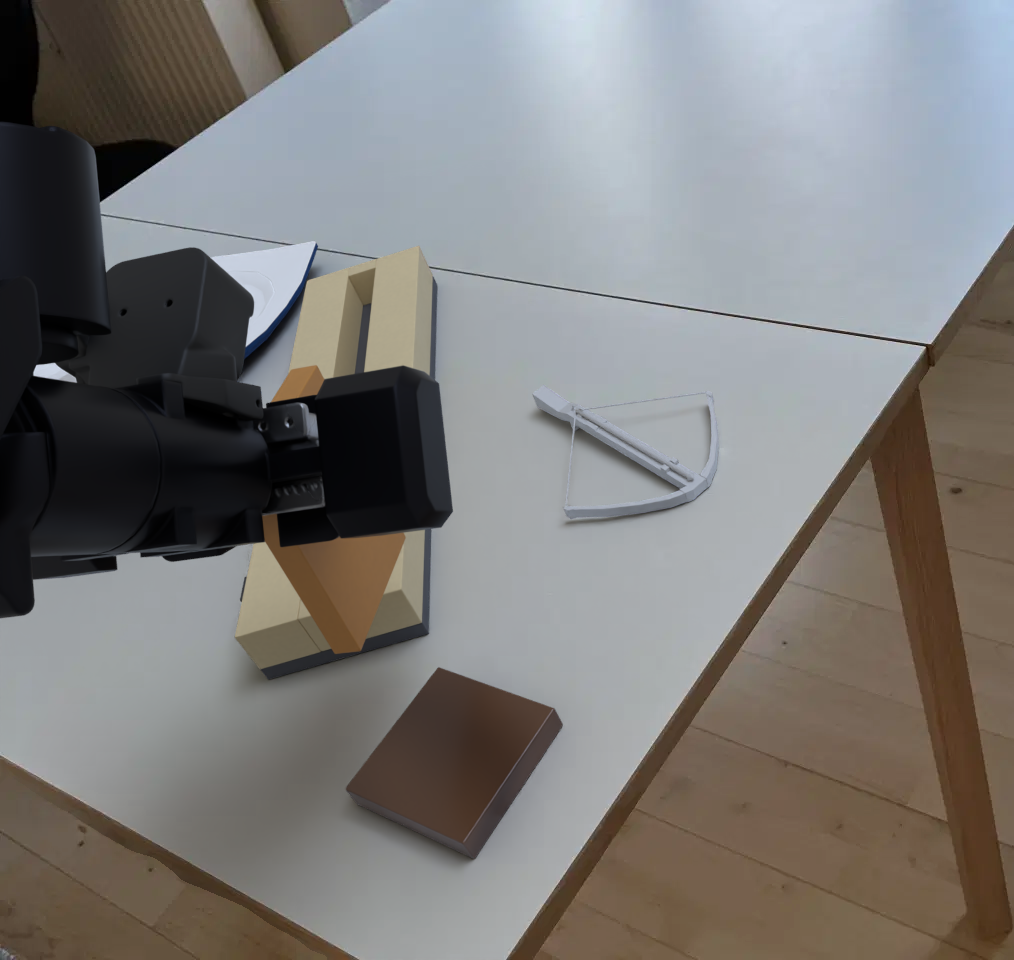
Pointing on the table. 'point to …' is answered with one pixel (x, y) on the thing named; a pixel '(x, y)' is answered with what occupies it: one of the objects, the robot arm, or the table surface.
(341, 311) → the toaster
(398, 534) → the toast
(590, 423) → the crossbow
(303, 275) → the plate
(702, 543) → the table surface
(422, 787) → the bread board
